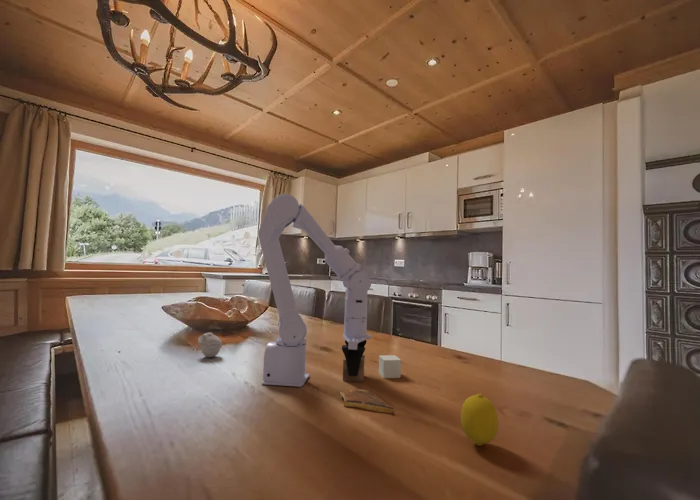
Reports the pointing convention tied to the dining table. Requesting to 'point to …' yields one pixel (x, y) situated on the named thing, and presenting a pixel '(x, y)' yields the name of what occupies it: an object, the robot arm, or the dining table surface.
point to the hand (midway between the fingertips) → (353, 371)
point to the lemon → (479, 419)
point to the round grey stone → (209, 344)
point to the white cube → (389, 366)
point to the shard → (365, 400)
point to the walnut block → (360, 373)
